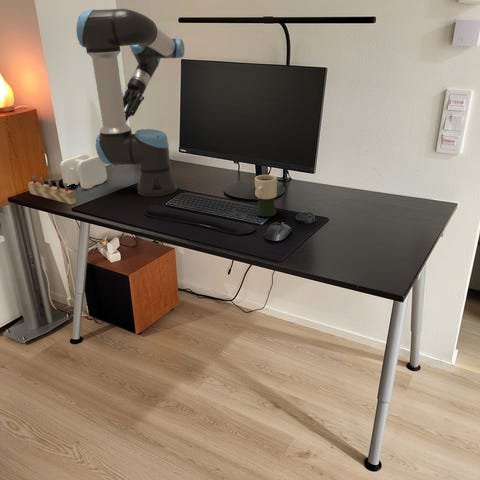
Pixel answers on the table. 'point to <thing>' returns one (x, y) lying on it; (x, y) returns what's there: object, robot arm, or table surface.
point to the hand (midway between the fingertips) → (115, 127)
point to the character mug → (266, 194)
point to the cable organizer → (83, 171)
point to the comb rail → (52, 191)
